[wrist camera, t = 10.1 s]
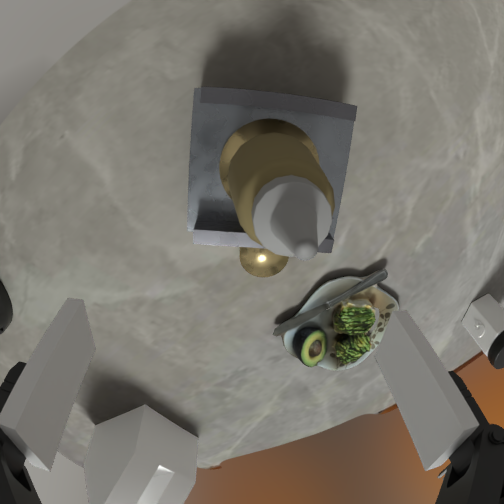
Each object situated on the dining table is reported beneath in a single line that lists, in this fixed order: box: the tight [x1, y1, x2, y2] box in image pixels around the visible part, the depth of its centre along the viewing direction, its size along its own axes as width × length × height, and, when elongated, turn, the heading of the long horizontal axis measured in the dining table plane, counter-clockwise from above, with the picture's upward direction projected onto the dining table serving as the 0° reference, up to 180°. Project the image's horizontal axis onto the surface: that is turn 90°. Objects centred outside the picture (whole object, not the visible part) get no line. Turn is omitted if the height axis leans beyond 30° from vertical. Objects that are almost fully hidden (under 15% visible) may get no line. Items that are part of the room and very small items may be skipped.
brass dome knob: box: [240, 247, 289, 277], centre depth 40 cm, size 6×6×2 cm
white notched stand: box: [84, 404, 198, 504], centre depth 49 cm, size 19×15×25 cm
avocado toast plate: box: [273, 269, 399, 371], centre depth 45 cm, size 19×18×5 cm
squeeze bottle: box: [227, 132, 335, 260], centre depth 23 cm, size 8×8×18 cm
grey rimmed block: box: [187, 87, 357, 253], centre depth 32 cm, size 16×15×8 cm
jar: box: [461, 293, 504, 369], centre depth 43 cm, size 9×8×12 cm
